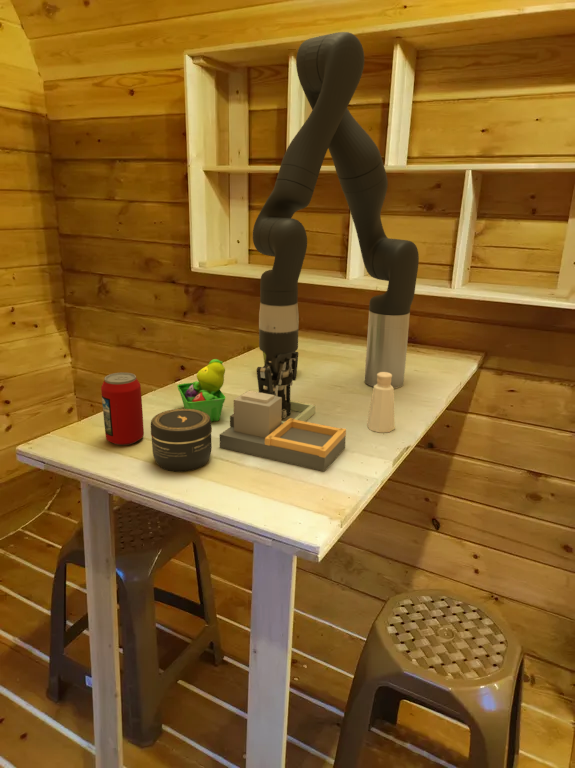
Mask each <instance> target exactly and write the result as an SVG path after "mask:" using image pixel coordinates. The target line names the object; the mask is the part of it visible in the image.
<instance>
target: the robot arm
mask: <svg viewBox="0 0 575 768" xmlns="http://www.w3.org/2000/svg"><path fill="white" fill-rule="evenodd" d="M295 59H296V60H295V61H296V63H295V65H296V66H295V67H296V73H297V76H298V80H299V83H300V86H301V88H302V91H303V93H304V95H305V97H306V99H307V101H308V103H309V107H310V108H311V110H312V111H311V112H310V114H309V115H308V117H307V119H306V120H305V121H304V124H303V125H302V126H301V128H300V129H299V130H298V132H297V133H296V134H295V136H294V137H293V138H292V140H291V142H290V143H289V145H288V147H287V149H286V150H285V153H284V155H283V157H282V160H281V163H280V167H279V170H278V173H277V177H276V180H275V182H274V187H273V189H272V190H271V193H270V194H269V196H268V197H267V199H266V201H265V203H264V205H263V207H262V208H261V210H260V211H259V214H258V215H257V217H256V219H255V222H254V225H253V230H252V243H253V246H254V248H255V250H256V251H258V253H259V254H262V255H264V256H270V257H274V260H273V261H274V262H273V265H272V269H269V270H265V271H263V273H262V274H261V276H260V281H259V282H260V284H259V287H260V289H259V291H260V294H259V296H260V298H259V299H260V301H259V302H260V303H259V312H258V346H259V347H258V348H259V350H260V351H261V352H262V353H263V352H264V353H265V354H266V359H265V365H263V366H257V368H256V378H257V387H258V392H260V393H266V394H271V395H274V396H277V393H278V387H279V386H280V385H281V384H282V378H283V373H284V371H285V370H286V369H288V370H289V373H292V374H293V378H292V382H291V383H290V384H288V385H287V386H286V399H287V402H288V403H290V400H291V387H292V386H293V381H294V382H295V381H296V380H297V372H298V362H299V351H298V348H299V319H300V318H299V307H298V306H299V305H298V301H299V299H298V297H299V296H298V294H299V292H298V290H299V285H298V283H299V279H300V276H301V272H302V268H303V264H304V262H305V261H304V260H305V257H306V254H307V249H308V236H307V235H308V234H307V230H306V228H305V226H304V225H303V223H302V222H301V221H299V220H297V219H295V218H293V216H294V214H295V213H296V212H298V211H300V210H303V209H305V208H307V207H308V206H309V205H310V203H311V200H312V198H313V194H314V191H315V188H316V185H317V182H318V178H319V175H320V172H321V170H322V165H323V164H324V159H325V157H326V154H327V152H328V151H329V154H330V156H331V159H332V162H333V166H334V169H335V173H336V175H337V178H338V181H339V184H340V187H341V190H342V193H343V194H344V195H343V196H344V197H345V200H346V203H347V206H348V209H349V212H350V215H351V219H352V222H353V225H354V228H355V231H356V236H357V240H358V245H359V249H360V253H361V257H362V261H363V266H364V268H365V270H366V272H367V274H368V275H369V276H370V277H371V278H374V279H376V280H379V281H385V282H388V285H387V288H386V291H385V292H384V293H382V294H379V295H375V296H372V297H371V298H370V300H369V304H368V305H369V306H368V321H367V322H368V323H367V336H366V337H367V339H366V350H365V351H366V353H365V367H364V369H365V370H364V383H365V384H366V385H368V386H369V387H370V386H371V387H373V388H374V386H375V385H376V384H377V374H378V373H380V372H388V373H390V374H392V378H391V386H392V387H393V389H399V388H401V387H403V386H404V384H405V373H406V363H407V362H406V361H407V351H408V350H407V349H408V341H409V340H408V339H409V328H410V315H411V305H412V303H413V301H414V297H415V293H416V285H417V278H418V271H419V265H420V264H419V260H420V256H419V249H418V247H417V245H416V243H414V242H413V241H411V240H409V239H408V240H407V239H398V238H390V237H387V235H386V231H385V230H384V227H383V224H382V219H381V218H382V217H381V214H382V213H381V212H382V208H383V205H384V202H385V199H386V195H387V191H388V184H389V183H388V176H387V172H386V168H385V165H384V160H383V158H382V155H381V152H380V149H379V148H378V146H377V144H376V143H375V142H374V140H373V139H372V137H371V136H370V135H369V134H368V132H366V130H365V129H364V127H362V126H361V124H359V123H358V121H357V120H356V119H355V118H354V116H353V115H352V113H351V112H350V110H349V105H350V103H351V100H352V98H353V97H354V94H355V92H356V90H357V88H358V86H359V83H360V81H361V79H362V75H363V71H364V68H365V51H364V47H363V44H362V43H361V41H360V39H359V38H358V36H356V35H355V34H353V33H351V32H349V31H340V32H338V31H337V32H334V33H328V34H323V35H318V36H314V37H311V38H309V39H306V40H304V41H303V42H301V44H300V45H299V47H298V49H297V53H296V57H295ZM272 378H277V380H272ZM272 384H274V388H273V385H272Z"/></svg>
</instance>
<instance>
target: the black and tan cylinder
mask: <svg viewBox="0 0 575 768" xmlns="http://www.w3.org/2000/svg"><path fill="white" fill-rule="evenodd" d="M292 378H293V374H292V373H289V370H288V369H286V370H285V371H284V373H283V378H282V384H281V385H280V386H279V387H278V393H277V397H282V416H281V419H285V418H287V416H291V411H292V410H291V403H288V402H287V399H286V386H287V385H288V384H290V383H291V382H293V381H292ZM272 380H277V378H272ZM272 385H273V388H274V384H272Z"/></svg>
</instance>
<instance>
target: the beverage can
mask: <svg viewBox="0 0 575 768" xmlns="http://www.w3.org/2000/svg"><path fill="white" fill-rule="evenodd" d="M100 388H101V389H100V390H101V391H100V392H101V401H102V402H101V403H102V411H103V412H102V414H103V423H104V432H105V433H104V434H105V439H106V440H107V442H110V443H112V444H114V445H116V446H128V445H132V444H134V443H135V444H136V443H137V442H138V441H140V440H141V439H142V438H144V435H145V431H144V415H143V414H144V413H143V400H142V398H143V397H142V388H141V383H140V382H139V379H137V376H136V374H134V373H131V372H114V373H110V374H108V375H106V376H105V377H104V381H103V383H102V385H101V387H100Z"/></svg>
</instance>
